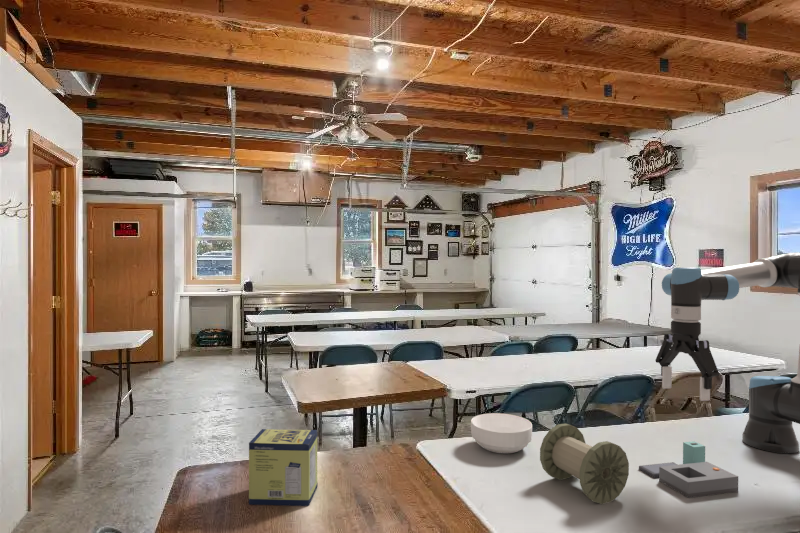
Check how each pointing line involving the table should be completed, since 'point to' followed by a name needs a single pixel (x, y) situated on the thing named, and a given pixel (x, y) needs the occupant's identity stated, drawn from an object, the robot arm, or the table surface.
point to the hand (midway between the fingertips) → (684, 394)
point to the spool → (585, 462)
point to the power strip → (698, 479)
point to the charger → (693, 452)
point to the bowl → (501, 432)
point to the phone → (654, 469)
